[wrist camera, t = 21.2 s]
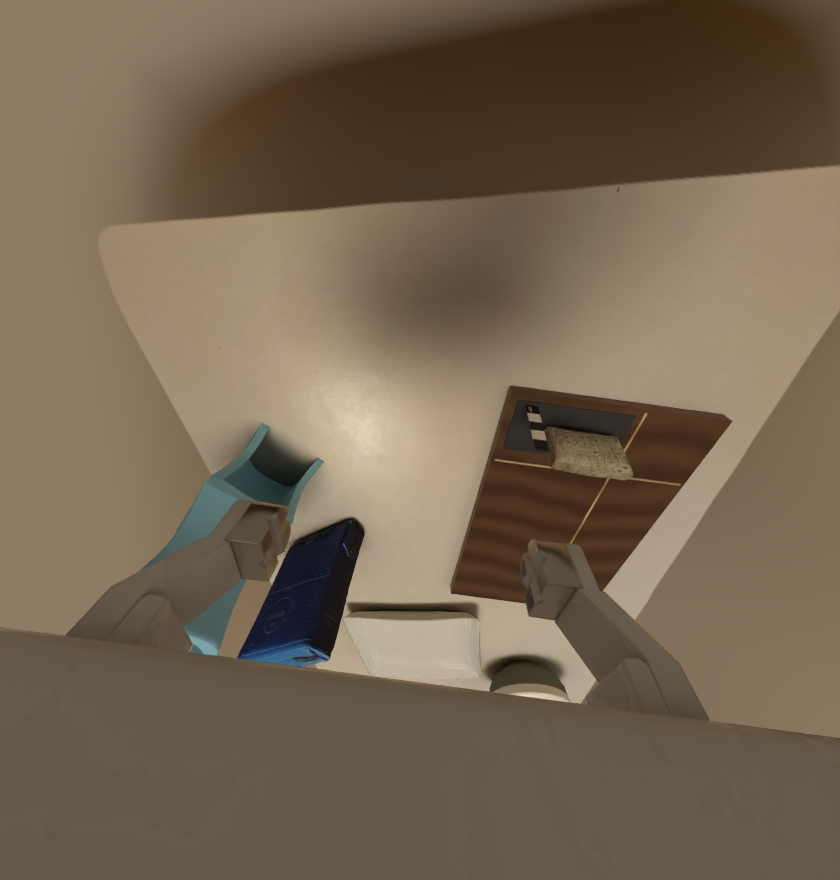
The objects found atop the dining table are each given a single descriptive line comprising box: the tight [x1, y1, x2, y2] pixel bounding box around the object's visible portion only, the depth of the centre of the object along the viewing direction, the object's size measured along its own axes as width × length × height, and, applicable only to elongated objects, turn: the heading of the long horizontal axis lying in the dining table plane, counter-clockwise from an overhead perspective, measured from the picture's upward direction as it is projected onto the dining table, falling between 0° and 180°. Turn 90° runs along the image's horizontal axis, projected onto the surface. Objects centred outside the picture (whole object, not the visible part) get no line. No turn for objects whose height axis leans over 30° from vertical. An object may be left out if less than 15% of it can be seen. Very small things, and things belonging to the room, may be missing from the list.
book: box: [238, 520, 365, 667], centre depth 48 cm, size 14×5×20 cm, turn 122°
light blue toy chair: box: [140, 423, 323, 656], centre depth 37 cm, size 10×10×25 cm
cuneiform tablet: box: [526, 405, 633, 480], centre depth 37 cm, size 7×4×12 cm
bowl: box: [490, 661, 571, 703], centre depth 75 cm, size 19×19×8 cm
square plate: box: [343, 611, 481, 679], centre depth 71 cm, size 27×27×4 cm
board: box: [451, 386, 732, 603], centre depth 49 cm, size 42×26×2 cm, turn 173°
